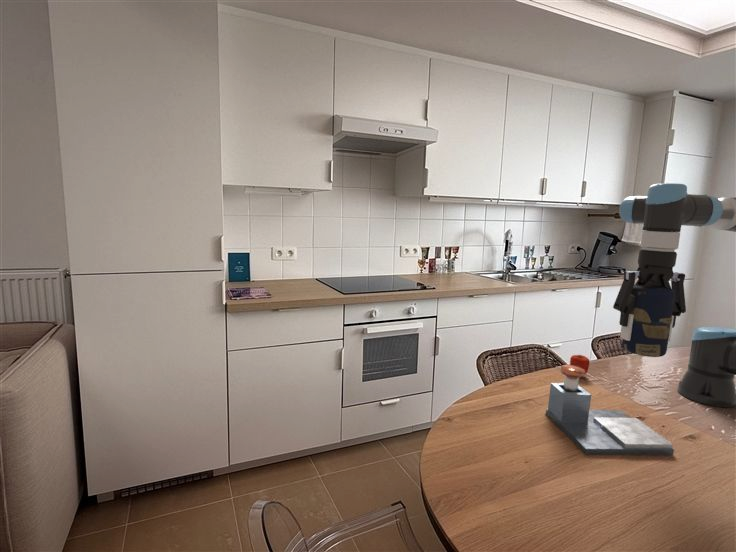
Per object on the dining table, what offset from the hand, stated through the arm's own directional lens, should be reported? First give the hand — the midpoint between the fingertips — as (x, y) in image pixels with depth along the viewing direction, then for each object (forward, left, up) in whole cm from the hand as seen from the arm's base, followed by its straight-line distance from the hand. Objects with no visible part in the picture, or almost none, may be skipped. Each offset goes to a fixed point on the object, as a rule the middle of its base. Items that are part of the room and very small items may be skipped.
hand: (644, 339), depth 102 cm
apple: (-10, -42, -27) cm, 51 cm away
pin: (+12, -9, -20) cm, 25 cm away
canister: (0, 0, -4) cm, 4 cm away
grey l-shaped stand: (+5, -3, -27) cm, 27 cm away
